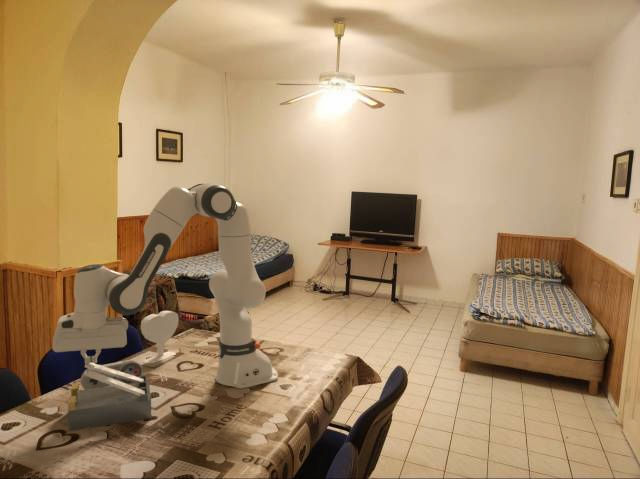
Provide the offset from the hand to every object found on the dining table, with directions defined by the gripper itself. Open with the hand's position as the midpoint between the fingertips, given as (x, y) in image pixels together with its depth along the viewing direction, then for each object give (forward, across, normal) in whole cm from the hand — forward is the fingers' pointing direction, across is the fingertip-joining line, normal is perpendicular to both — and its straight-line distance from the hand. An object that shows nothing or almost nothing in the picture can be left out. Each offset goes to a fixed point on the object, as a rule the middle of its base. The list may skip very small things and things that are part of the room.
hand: (90, 362), depth 145 cm
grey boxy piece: (+15, -6, +4) cm, 17 cm away
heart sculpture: (+15, -23, -38) cm, 47 cm away
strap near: (+4, -7, +9) cm, 12 cm away
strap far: (+5, -7, 0) cm, 8 cm away
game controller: (+15, -6, -16) cm, 23 cm away
